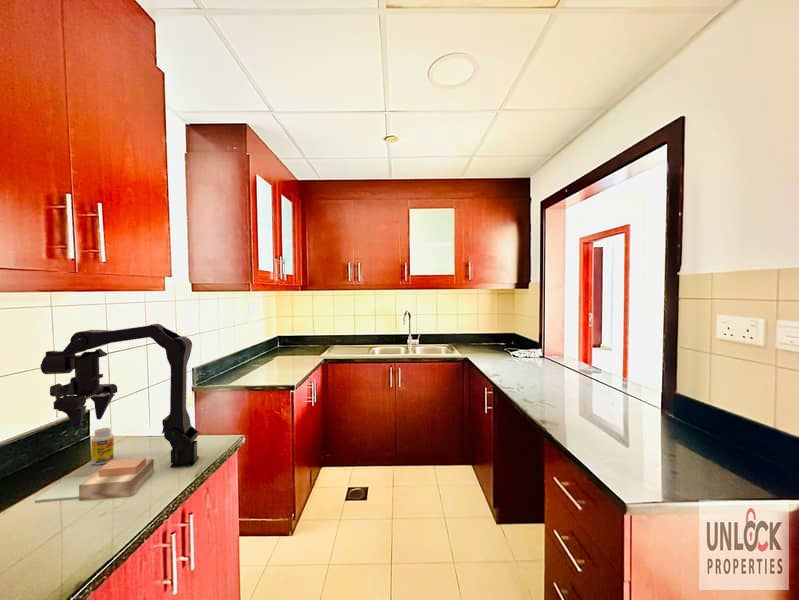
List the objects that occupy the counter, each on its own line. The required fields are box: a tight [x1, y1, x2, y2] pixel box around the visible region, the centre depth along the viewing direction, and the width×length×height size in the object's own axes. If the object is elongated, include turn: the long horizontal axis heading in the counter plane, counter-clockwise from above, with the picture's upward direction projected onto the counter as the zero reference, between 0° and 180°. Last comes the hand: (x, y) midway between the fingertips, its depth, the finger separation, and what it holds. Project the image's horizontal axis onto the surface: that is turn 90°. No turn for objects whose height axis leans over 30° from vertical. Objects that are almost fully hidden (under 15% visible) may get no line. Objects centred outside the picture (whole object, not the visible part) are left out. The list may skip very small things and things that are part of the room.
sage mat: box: [34, 475, 91, 503], centre depth 106 cm, size 10×12×1 cm
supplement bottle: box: [91, 427, 114, 466], centre depth 123 cm, size 6×6×10 cm
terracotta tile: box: [98, 457, 147, 477], centre depth 108 cm, size 9×6×2 cm, turn 101°
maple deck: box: [78, 458, 155, 501], centre depth 108 cm, size 12×14×4 cm
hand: (88, 424), depth 116 cm, fingers open, 9 cm apart
